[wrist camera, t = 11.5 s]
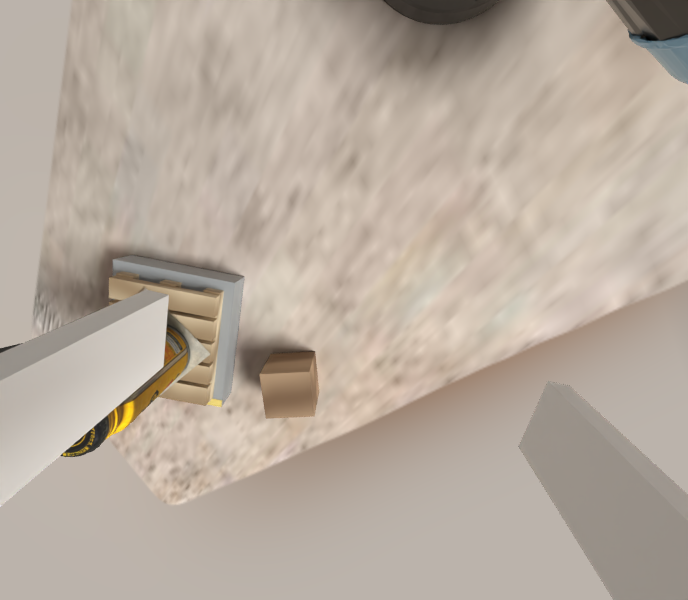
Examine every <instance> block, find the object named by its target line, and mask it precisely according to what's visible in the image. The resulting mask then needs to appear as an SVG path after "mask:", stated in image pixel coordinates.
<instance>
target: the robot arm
mask: <svg viewBox="0 0 688 600" xmlns="http://www.w3.org/2000/svg"><path fill="white" fill-rule="evenodd" d="M385 1H386V2H387V3H388V4H389V5H390V6H391V7H393V8H394V9H395V10H397V11H398V12H400V13H401V14H403V15H405V16H407V17H409V18H411V19H413V20H416V21H419V22H423V23H428V24H452V23H457V22H461V21H465V20H467V19H470V18H472V17H475V16H477V15H479V14H480V13H482V12H484V11H485V10H487V9H489V8H490V7H491V6H493V5H494V4H495V3H496V2H498V1H499V0H385ZM606 1H607V2H608V4H609V5H610V6H611V7H612V9H613V10H614V11H615V13H616V14H617V15H618V17H619V18H620V19H621V20H622V22H623V23H624V24H625V26H626V27H627V28H628V32H629V38H630V39H631V40H632V42H634V43H635V44H636V45H638V46H641V47H643V48H646V49H647V50H648V51H649V52H650V53H651V54H652V55H653V56H654V57H655V58H656V59H657V61H658V62H659V63H660V64H661V65H662V66H663V67H664V68H665V69H666V70H667V71H668V73H669V74H670V75H671V76H673V77H674V78H675V79H677V80H679V81H681V82H683V83H686V84H688V0H606ZM168 301H169V295H168V294H163V293H159V292H154V291H150V290H145V291H142V292H140V293H138V294H135V295H133V296H131V297H129V298H126V299H124V300H122V301H119V302H117V303H115V304H112V305H110V306H108V307H105V308H103V309H101V310H99V311H96V312H94V313H92V314H89V315H87V316H85V317H82V318H80V319H78V320H76V321H73V322H71V323H69V324H66V325H64V326H62V327H59V328H57V329H55V330H52V331H50V332H48V333H46V334H43V335H41V336H39V337H36V338H34V339H32V340H29V341H27V342H25V343H21V344H17V345H13V346H9V347H4V348H0V507H1V506H2V505H3V504H4V503H5V502H7V501H8V500H9V499H10V498H11V497H12V496H14V495H15V494H16V493H17V492H18V491H19V490H21V489H22V488H23V487H24V486H25V485H26V484H27V483H29V482H30V481H31V480H32V479H33V478H34V477H36V476H37V475H38V474H39V473H40V472H42V470H44V469H45V468H46V467H47V466H48V465H50V464H51V463H52V462H53V461H54V460H55V459H57V458H58V457H59V456H60V455H61V454H62V453H64V452H65V451H66V450H67V449H68V448H69V447H71V446H72V445H73V444H74V443H75V442H76V441H78V440H79V439H80V438H81V437H82V436H83V435H85V434H86V433H87V432H88V431H89V430H90V429H92V428H93V427H94V426H95V425H96V424H97V423H99V422H100V421H101V420H102V419H103V418H104V417H106V416H107V415H108V414H109V413H110V412H111V411H113V410H114V409H115V408H116V407H117V406H118V405H120V404H121V403H122V402H123V401H124V400H125V399H127V398H128V397H129V396H130V395H131V394H132V393H134V392H135V391H136V390H137V389H138V388H139V387H141V386H142V385H143V384H144V383H145V382H146V381H148V380H149V379H150V378H151V377H152V376H153V375H155V374H156V373H157V372H158V371H159V370H160V369H162V368H163V366H164V353H165V340H166V327H167V314H168ZM519 448H520V450H521V451H522V453H523V455H524V456H525V458H526V459H527V461H528V463H529V464H530V466H531V468H532V469H533V471H534V472H535V474H536V475H537V477H538V479H539V480H540V482H541V484H542V485H543V487H544V488H545V490H546V492H547V493H548V495H549V497H550V498H551V500H552V501H553V503H554V505H555V506H556V508H557V509H558V511H559V513H560V514H561V516H562V518H563V519H564V520H565V522H566V524H567V526H568V527H569V529H570V530H571V532H572V534H573V535H574V537H575V538H576V540H577V542H578V543H579V545H580V547H581V548H582V550H583V551H584V553H585V555H586V556H587V558H588V559H589V561H590V563H591V564H592V566H593V567H594V569H595V571H596V572H597V574H598V576H599V577H600V579H601V580H602V582H603V584H604V585H605V587H606V589H607V590H608V592H609V593H610V595H611V597H612V598H613V600H688V494H687V493H686V492H685V491H683V490H682V489H681V488H680V487H679V486H678V485H677V484H676V483H675V482H674V481H673V480H671V479H670V478H669V477H668V476H667V475H666V474H665V473H664V472H663V471H662V470H661V469H660V468H658V467H657V466H656V465H655V464H654V463H653V462H652V461H651V460H650V459H649V458H648V457H646V456H645V455H644V454H643V453H642V452H641V451H640V450H639V449H638V448H637V447H636V446H634V445H633V444H632V443H631V442H630V441H629V440H628V439H627V438H626V437H625V436H623V434H621V433H620V432H619V431H618V430H617V429H616V428H615V427H614V426H613V425H612V424H611V423H609V422H608V421H607V420H606V419H605V418H604V417H603V416H602V415H601V414H600V413H599V412H598V411H596V410H595V409H594V408H593V407H592V406H591V405H590V404H589V403H588V402H587V401H586V400H585V399H583V398H582V397H581V396H580V395H579V394H578V393H577V392H576V391H575V390H574V389H573V388H572V387H570V386H568V385H564V384H560V383H555V382H551V381H548V382H547V384H546V386H545V389H544V391H543V393H542V395H541V397H540V400H539V402H538V404H537V406H536V409H535V411H534V413H533V415H532V418H531V420H530V422H529V424H528V427H527V429H526V431H525V433H524V435H523V438H522V440H521V442H520V445H519Z"/></svg>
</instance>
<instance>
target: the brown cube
mask: <svg viewBox="0 0 688 600" xmlns="http://www.w3.org/2000/svg"><path fill="white" fill-rule="evenodd" d="M259 375H260V382H261V388H262V395H263V402H264V409H265V415H266V418H288V417H310V416H314V415H315V410H316V405H317V400H318V395H319V385H318V376H317V366H316V356H315V351H314V352H295V353H276V354H271V355H270V356H269V358H268V360H267V362H266V364H265V365H264V367H263V369H262V371H261V372H260V374H259Z"/></svg>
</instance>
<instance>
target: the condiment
mask: <svg viewBox="0 0 688 600" xmlns="http://www.w3.org/2000/svg"><path fill="white" fill-rule="evenodd" d="M145 290H147V289H146V288H145V289H144V290H143V291H145ZM209 355H210V353H209V352H208V351H207V350H206V349H205V348H204V347H203V345H202V344H201V343H200V342H199V341H198V340H197V339H196V338H194V336H193V335H192V334H191V333H190V332H189V331H188V330H187V329H186V328H185V327H184V326H183V325H182V324H181V323H180V322H179V321H178V320H177V319H176V318H174V317H173V316H172V315H171V314H170V312H169V311H168V314H167V327H166V340H165V353H164V366H163V368H162V369H160V370H159V371H158V372H157V373H156V374H155V375H153V376H152V377H151V378H150V379H149V380H148V381H146V382H145V383H144V384H143V385H142V386H141V387H139V388H138V389H137V390H136V391H135V392H134V393H132V394H131V395H130V396H129V397H128V398H127V399H125V400H124V401H123V402H122V403H121V404H120V405H118V406H117V407H116V408H115V409H114V410H113V411H111V412H110V413H109V414H108V415H107V416H106V417H104V418H103V419H102V420H101V421H100V422H99V423H97V424H96V425H95V426H94V427H93V428H92V429H90V430H89V431H88V432H87V433H86V434H85V435H83V436H82V437H81V438H80V439H79V440H78V441H76V442H75V443H74V444H73V445H72V446H71V447H69V448H68V449H67V450H66V451H65V452H64V453H62V454H61V455H60V456H64V457H75V456H81V455H84V454H86V453H89V452H92V451H94V450H95V449H96V448H97V447H99V446H100V445H101V443H102V442H103V441H104V440H106V439H107V438H108V437H110V436H111V435H113V434H115V433H117V432H119V431H121V430H123V429H124V428H126V427H127V426H128V425H129V424H130V423H132V422H133V421H134V420H135V418H136V417H137V416H138V415H139V414H140V413H141V412H142V411H144V410H145V409H146V407H148V406H149V405H150V404H151V402H153V401H154V400H155V399H156V398H157V397H158V396H159V395H162V394H163V393H164V392H165V391H166V390H168V389H169V388H170V387H171V386H172V385H174V384H175V383H176V382H177V381H178V380H180V379H181V378H182V377H183V376H184V375H186V374H187V373H188V372H189V371H191V370H192V369H193V368H194V367H195V366H197V365H198V364H199V363H200V362H202V361H203V360H204V359H205V358H206V357H208V356H209Z"/></svg>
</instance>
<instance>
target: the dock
mask: <svg viewBox="0 0 688 600" xmlns="http://www.w3.org/2000/svg"><path fill="white" fill-rule="evenodd" d="M122 271H124V272H129V273H134V274H139V280H143V281H148V282H153V283H159V284H160V281H163V280H171V281H176V282H181V283H182V284H181V288H185V289H190V290H195V291H200V292H203V290H205V289H206V288H212V289H217V290H222V291H224V295H223V305H222V315H221V325H220V334H219V344H218V354H217V364H216V374H215V384H214V394H213V398H212V399H211V401H210V402H208V403H207V404H208V405H213V406H218V407H222V405H223V404H224V402H225V401H226V399H227V398H228V396H229V395H230V393H231V389H232V380H233V371H234V363H235V354H236V345H237V337H238V328H239V320H240V311H241V302H242V294H243V285H244V277H243V276H238V275H233V274H228V273H222V272H217V271H212V270H207V269H202V268H197V267H191V266H186V265H181V264H176V263H171V262H166V261H160V260H155V259H150V258H145V257H140V256H135V255H130V256H125V257H121V258H117V259H113V276H115V275H116V273H119V272H122ZM112 300H115V299H112Z"/></svg>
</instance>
